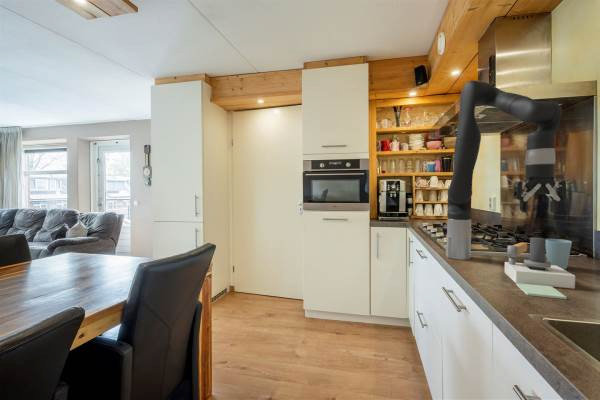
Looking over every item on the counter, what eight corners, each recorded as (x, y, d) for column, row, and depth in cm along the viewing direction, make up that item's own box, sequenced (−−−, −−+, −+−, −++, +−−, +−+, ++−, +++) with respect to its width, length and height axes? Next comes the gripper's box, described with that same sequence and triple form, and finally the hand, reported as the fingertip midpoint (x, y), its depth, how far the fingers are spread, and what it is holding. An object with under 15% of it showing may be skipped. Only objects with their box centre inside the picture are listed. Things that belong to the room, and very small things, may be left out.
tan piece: (515, 257, 99) (515, 247, 99) (506, 256, 102) (506, 246, 101) (528, 251, 108) (528, 242, 108) (519, 250, 110) (519, 241, 110)
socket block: (516, 283, 93) (516, 263, 93) (504, 272, 104) (504, 255, 104) (574, 288, 88) (575, 268, 88) (555, 276, 99) (556, 258, 99)
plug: (528, 282, 94) (529, 239, 94) (520, 275, 101) (521, 236, 100) (554, 284, 92) (556, 241, 91) (544, 277, 98) (546, 237, 98)
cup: (574, 271, 105) (575, 243, 105) (547, 268, 109) (548, 241, 108) (566, 266, 112) (567, 239, 112) (541, 263, 116) (542, 238, 115)
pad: (527, 295, 83) (527, 293, 83) (516, 285, 92) (516, 283, 92) (566, 299, 80) (566, 297, 80) (551, 288, 88) (551, 286, 88)
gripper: (522, 163, 92) (521, 213, 93) (573, 161, 89) (572, 213, 90) (509, 164, 99) (508, 211, 100) (556, 163, 97) (555, 211, 98)
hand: (538, 212), depth 95 cm, fingers open, 8 cm apart
